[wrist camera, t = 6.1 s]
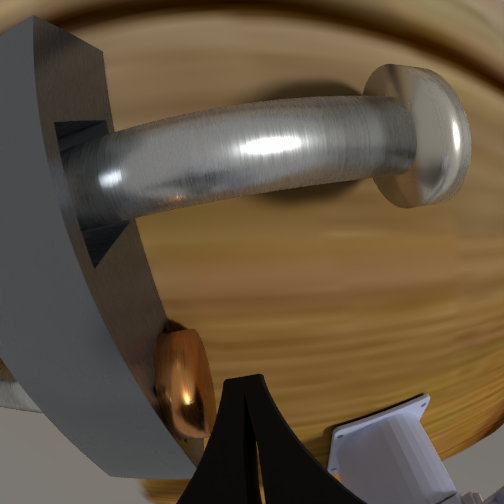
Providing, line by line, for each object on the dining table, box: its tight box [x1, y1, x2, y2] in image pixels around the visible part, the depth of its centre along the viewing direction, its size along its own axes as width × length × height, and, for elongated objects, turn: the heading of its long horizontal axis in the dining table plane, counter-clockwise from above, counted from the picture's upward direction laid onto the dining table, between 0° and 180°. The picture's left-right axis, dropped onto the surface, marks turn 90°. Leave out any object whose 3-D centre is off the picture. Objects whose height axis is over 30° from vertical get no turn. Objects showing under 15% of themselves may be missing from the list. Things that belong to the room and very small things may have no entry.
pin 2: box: [60, 64, 471, 231], centre depth 7 cm, size 13×4×4 cm, turn 98°
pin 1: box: [0, 329, 216, 440], centre depth 10 cm, size 13×4×4 cm, turn 98°
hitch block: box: [0, 15, 204, 479], centre depth 9 cm, size 17×5×5 cm, turn 8°
